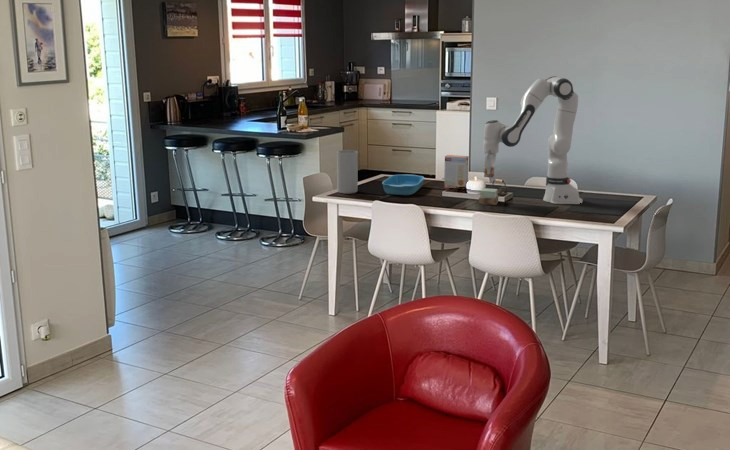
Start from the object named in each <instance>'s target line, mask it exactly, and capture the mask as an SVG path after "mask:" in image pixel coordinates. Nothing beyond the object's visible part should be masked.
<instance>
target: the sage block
mask: <svg viewBox="0 0 730 450" xmlns="http://www.w3.org/2000/svg"><path fill="white" fill-rule="evenodd" d="M480 192H481V193H480V196H481V198H493V199H495V198H496V197H497V195H498V189H497V188H487V187H484V188H482V189H481V191H480Z"/></svg>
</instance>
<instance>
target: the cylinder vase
mask: <svg viewBox="0 0 730 450" xmlns="http://www.w3.org/2000/svg"><path fill="white" fill-rule="evenodd" d="M358 154H359V153H358V151H357V150H353V149H344V150H343V149H340V150H338V151H336V172H337V173H336V176H337V177H336V178H337V179H336V180H337V181H336V184H337V185H336V190H337V193H340V194H345V195H346V194H348V195H349V194H355V193H357V192H358V187H359V186H358V183H359V182H358V170H359V168H358V156H359V155H358Z"/></svg>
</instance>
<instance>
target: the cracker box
mask: <svg viewBox="0 0 730 450" xmlns="http://www.w3.org/2000/svg"><path fill="white" fill-rule="evenodd" d="M469 158H470V157H469V156H467V155H459V154H457V155H455V154H447V155H445V156H444V175H443V176H444V177H443V179H444V180H443V182H444V183H443V187H444V189H446V190H448V189H449V188H456V187H466V183H467V182H468V183H469ZM449 190H450V189H449Z"/></svg>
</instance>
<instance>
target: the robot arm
mask: <svg viewBox="0 0 730 450" xmlns="http://www.w3.org/2000/svg"><path fill="white" fill-rule="evenodd" d="M548 96H553V97H556V98H558V99H557V101H558V104H557V108H556V112H555V115H554V121H553V128H552V129H553V130H552V134H550V136H549V137H548V139H547V174H546V178H545V186H546V187H545V191H544V192H545V193H544V195H543V198H542V200H543V202H547V203H551V204H557V205H558V204H559V205H581V204H583V200H584V199H582V198H581V197H580V193H579V191H578V189H577V188H576V187H574V186H573V185H572V184H571V178H570V177H568V154H567V153H569V151H570V150H571V147H572V146H571V144H572V139H573V129H574V125H575V121H576V117H577V116H576V115H577V113H578V112H577V111H578V105H579V95H578V93H576V92H575V91H574V86H573V84H572V82H571V81H570V80H569V79H567V78H566V77H562V76H557V75H554V76H550V77H548V78H547V79H544V78H537V79H536V80H535V81H534V82H533V83H532V84H530V86H529V87H528V88H527V89H526V91H525V92H524V94H523V95H522V97H521V99H520V102H519V103H520V113H519V115H518V117H517V118H516V120H515V121H514V123H513V124H512V126H508V125H505V124H503V123H501V122H500V121H499V120H497V119H495V120H492V119H491V120H489V121H486V123H485V124H484V128H483V143H482V153H484V169H485V168H487V174H490V169H491V167H493V165H494V164H495V163H496V159H497V153H499V145H500V143H503V144H504V145H505V146H506V147H510V148H512V147H515V146H517V145H519V143H520V141H521V137H522V133H523V132H524V130H525V128H526V127H527V125H528V124H529V122H530V121H531V119H532V117H533V116H534V114H535V113H536V112H537V110H538V109H539V108H540V106H541V105H542V104H543V102H544V101H545V99H546V98H547V97H548ZM580 203H581V204H580Z"/></svg>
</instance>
